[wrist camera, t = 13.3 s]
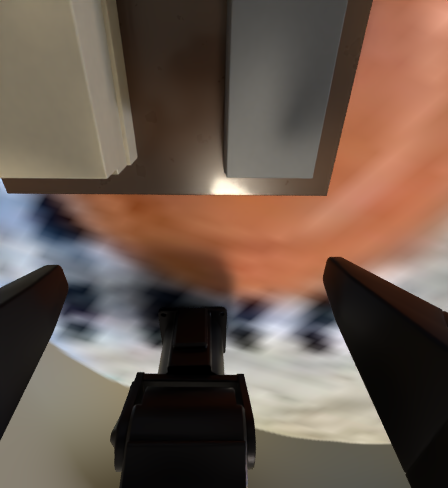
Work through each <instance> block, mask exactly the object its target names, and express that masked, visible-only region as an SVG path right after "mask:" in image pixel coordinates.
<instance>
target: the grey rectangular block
mask: <svg viewBox="0 0 448 488" xmlns="http://www.w3.org/2000/svg"><path fill="white" fill-rule="evenodd" d="M347 3H348V0H227V29H226V70H225V111H224V152H223V168H224V174H226V177H227V178H313V173H314V168H315V163H316V158H317V153H318V148H319V143H320V138H321V133H322V128H323V123H324V118H325V113H326V108H327V103H328V98H329V93H330V88H331V83H332V78H333V73H334V68H335V63H336V58H337V53H338V48H339V43H340V38H341V33H342V28H343V23H344V18H345V13H346V8H347Z"/></svg>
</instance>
